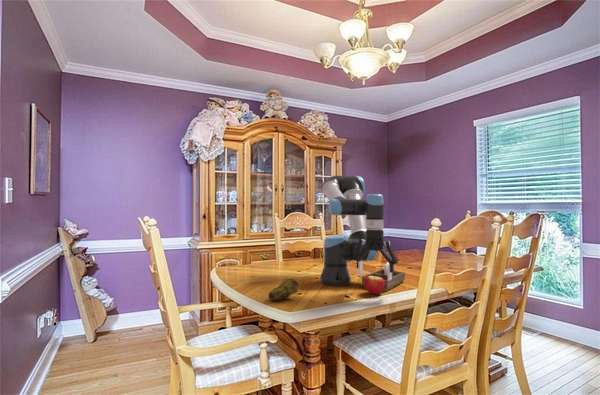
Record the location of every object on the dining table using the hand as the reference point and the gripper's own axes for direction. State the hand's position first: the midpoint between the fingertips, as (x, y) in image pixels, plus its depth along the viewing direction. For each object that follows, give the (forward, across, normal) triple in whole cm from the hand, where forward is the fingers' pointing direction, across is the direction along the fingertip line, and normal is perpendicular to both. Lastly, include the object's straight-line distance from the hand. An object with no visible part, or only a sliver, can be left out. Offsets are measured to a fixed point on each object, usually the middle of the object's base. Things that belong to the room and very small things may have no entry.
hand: (374, 277), depth 142 cm
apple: (+7, 0, 0) cm, 7 cm away
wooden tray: (+7, -3, +18) cm, 20 cm away
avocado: (+7, -26, -31) cm, 41 cm away
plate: (+5, -3, +24) cm, 25 cm away
